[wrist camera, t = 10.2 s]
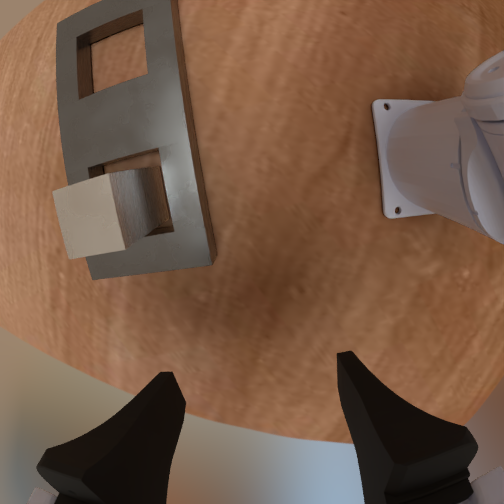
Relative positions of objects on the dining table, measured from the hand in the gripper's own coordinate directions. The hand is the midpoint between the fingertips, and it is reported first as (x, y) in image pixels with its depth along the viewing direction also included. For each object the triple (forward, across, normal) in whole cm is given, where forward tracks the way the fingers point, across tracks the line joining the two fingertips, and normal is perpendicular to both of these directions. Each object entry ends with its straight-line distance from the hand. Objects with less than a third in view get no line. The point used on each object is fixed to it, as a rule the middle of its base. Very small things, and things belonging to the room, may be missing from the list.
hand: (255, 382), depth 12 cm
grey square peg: (+9, +7, -8) cm, 14 cm away
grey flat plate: (+9, +7, -13) cm, 17 cm away
